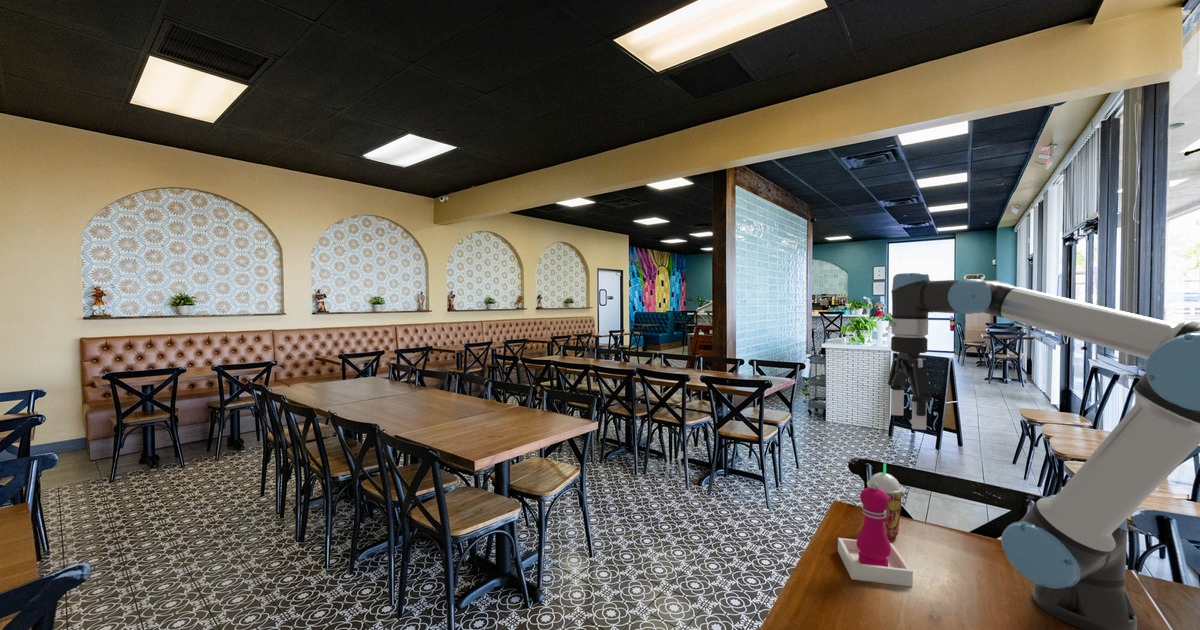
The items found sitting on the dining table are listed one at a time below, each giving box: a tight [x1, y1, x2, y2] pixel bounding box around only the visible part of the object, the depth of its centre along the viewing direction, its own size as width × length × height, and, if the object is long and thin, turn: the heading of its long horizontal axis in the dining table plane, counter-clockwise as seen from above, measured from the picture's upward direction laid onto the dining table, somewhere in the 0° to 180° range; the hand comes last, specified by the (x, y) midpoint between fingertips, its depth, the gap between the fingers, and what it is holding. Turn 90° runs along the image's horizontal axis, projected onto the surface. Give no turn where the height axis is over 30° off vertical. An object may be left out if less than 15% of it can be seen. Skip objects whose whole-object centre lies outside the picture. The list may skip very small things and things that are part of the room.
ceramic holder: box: [837, 537, 914, 588], centre depth 115 cm, size 13×13×4 cm
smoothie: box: [866, 462, 904, 541], centre depth 130 cm, size 8×8×20 cm
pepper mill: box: [856, 482, 891, 567], centre depth 115 cm, size 7×7×20 cm
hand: (907, 421), depth 118 cm, fingers open, 13 cm apart
